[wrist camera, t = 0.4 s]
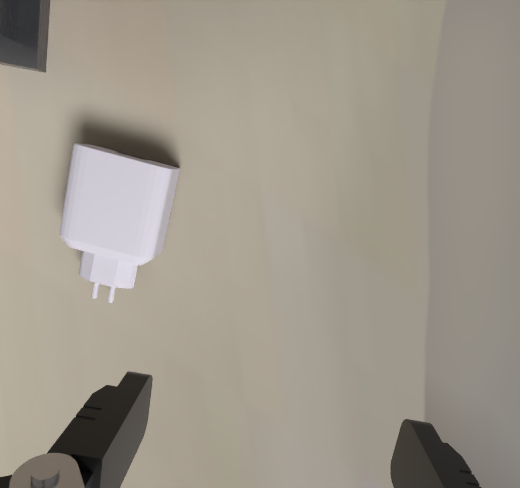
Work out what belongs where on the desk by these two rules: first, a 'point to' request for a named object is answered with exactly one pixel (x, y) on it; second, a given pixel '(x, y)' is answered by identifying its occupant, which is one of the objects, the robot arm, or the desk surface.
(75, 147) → the charger
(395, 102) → the desk surface
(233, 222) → the desk surface
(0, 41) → the stand
